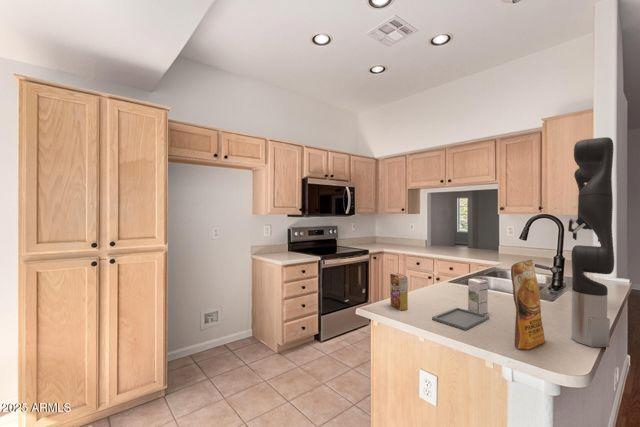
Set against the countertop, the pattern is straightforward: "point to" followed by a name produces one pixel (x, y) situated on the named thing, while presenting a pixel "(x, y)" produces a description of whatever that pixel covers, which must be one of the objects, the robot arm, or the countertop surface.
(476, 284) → the syrup box
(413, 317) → the countertop surface
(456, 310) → the tray
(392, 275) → the candy box
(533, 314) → the pancake mix bag
